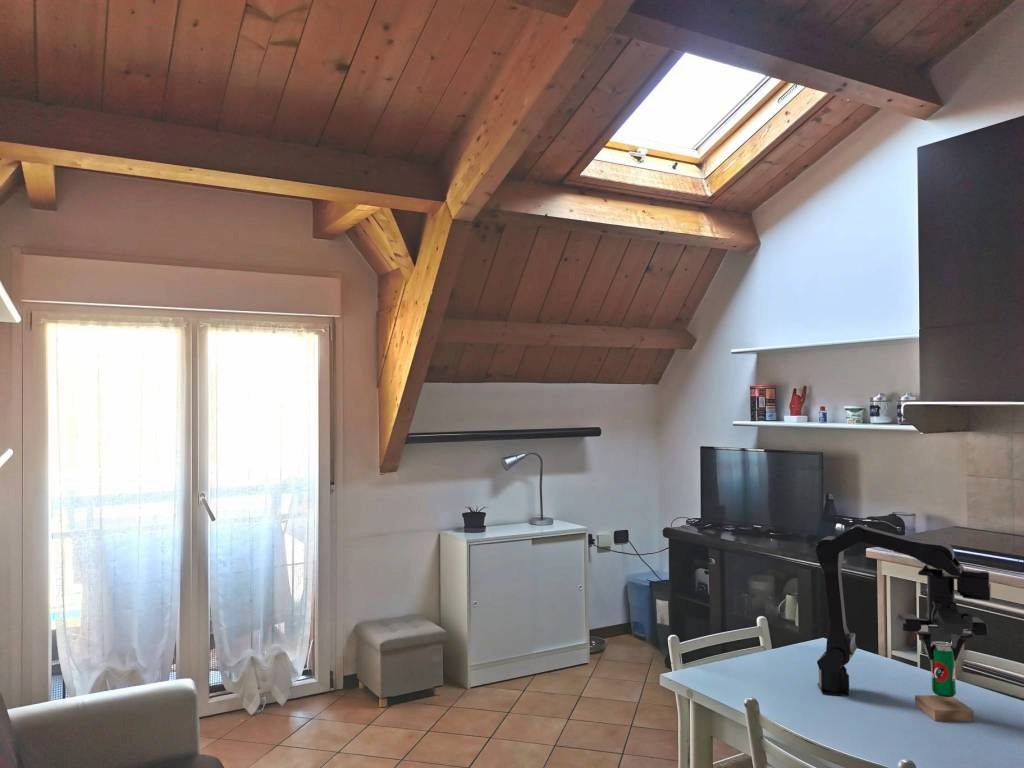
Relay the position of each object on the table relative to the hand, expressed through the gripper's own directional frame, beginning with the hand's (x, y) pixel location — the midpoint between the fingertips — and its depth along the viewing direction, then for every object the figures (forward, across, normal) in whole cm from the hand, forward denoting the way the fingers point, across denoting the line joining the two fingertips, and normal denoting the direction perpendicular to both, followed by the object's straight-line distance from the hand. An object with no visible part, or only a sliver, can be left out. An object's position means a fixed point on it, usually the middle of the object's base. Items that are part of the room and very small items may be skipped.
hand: (942, 660), depth 180 cm
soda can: (+8, 0, 0) cm, 8 cm away
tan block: (+13, 0, 0) cm, 13 cm away
